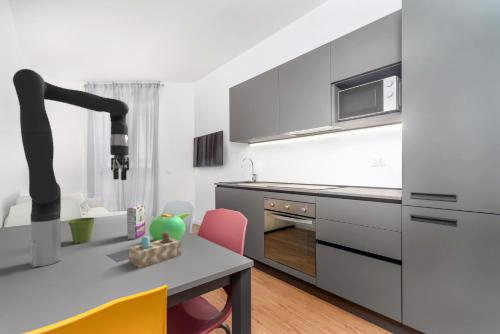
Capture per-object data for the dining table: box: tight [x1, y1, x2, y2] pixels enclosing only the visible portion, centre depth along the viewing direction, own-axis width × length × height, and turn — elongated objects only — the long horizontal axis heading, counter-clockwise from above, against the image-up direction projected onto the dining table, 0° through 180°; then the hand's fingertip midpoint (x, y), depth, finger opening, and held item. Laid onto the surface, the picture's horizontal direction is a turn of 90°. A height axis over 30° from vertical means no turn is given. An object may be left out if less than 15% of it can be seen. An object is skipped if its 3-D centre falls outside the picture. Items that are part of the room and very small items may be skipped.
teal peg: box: [141, 235, 151, 250], centre depth 98 cm, size 3×3×10 cm
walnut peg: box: [162, 231, 170, 244], centre depth 105 cm, size 3×3×10 cm
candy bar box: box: [126, 204, 146, 240], centre depth 134 cm, size 11×5×16 cm, turn 179°
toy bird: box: [148, 212, 191, 241], centre depth 125 cm, size 18×17×15 cm
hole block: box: [128, 238, 182, 269], centre depth 102 cm, size 18×9×6 cm, turn 140°
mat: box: [105, 248, 129, 263], centre depth 106 cm, size 12×12×1 cm
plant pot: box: [67, 217, 96, 244], centre depth 126 cm, size 12×12×11 cm
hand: (119, 179), depth 115 cm, fingers open, 8 cm apart
